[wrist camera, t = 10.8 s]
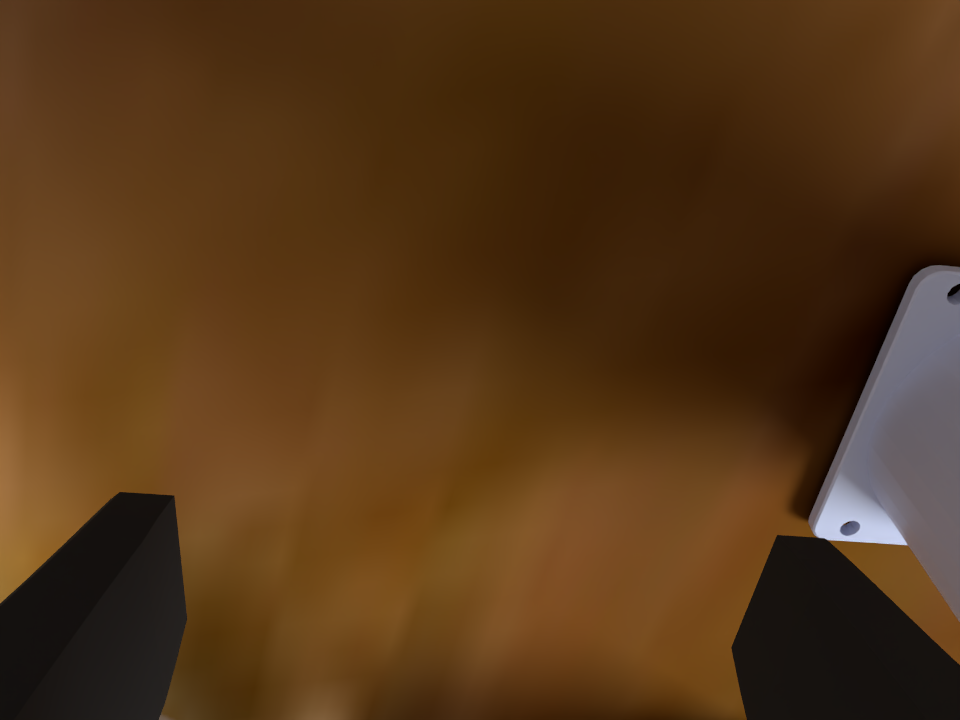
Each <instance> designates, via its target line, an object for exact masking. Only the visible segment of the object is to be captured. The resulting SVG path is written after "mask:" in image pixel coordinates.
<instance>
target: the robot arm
mask: <svg viewBox="0 0 960 720" xmlns="http://www.w3.org/2000/svg"><path fill="white" fill-rule="evenodd" d="M957 284H960V267H954V266H943V265H934V266H929V267H926V268H924V269H922V270H920V271H919V272H918V273H917V274H915V275H914V276H913V278H912V280H911V281H910V283H909V285H908V287H907V289H906V292H905V294H904V296H903V299H902V301H901V303H900V306H899V308H898V310H897V313H896V315H895V317H894V320H893V322H892V324H891V327H890V329H889V331H888V334H887V336H886V338H885V341H884V343H883V345H882V348H881V350H880V352H879V355H878V357H877V359H876V362H875V364H874V366H873V369H872V371H871V373H870V376H869V378H868V381H867V383H866V385H865V388H864V390H863V392H862V395H861V397H860V399H859V402H858V404H857V406H856V409H855V411H854V413H853V416H852V418H851V420H850V423H849V425H848V427H847V430H846V432H845V434H844V437H843V439H842V441H841V444H840V446H839V448H838V451H837V453H836V455H835V458H834V460H833V462H832V465H831V467H830V469H829V472H828V474H827V476H826V479H825V481H824V483H823V486H822V488H821V490H820V493H819V495H818V498H817V500H816V502H815V505H814V507H813V509H812V512H811V514H810V516H809V521H808V523H809V525H810V528H811V530H812V531H813V533H814V535H815V536H817V537H818V538H813V537H798V536H782V535H777V537H776V539H775V542H774V544H773V547H772V549H771V552H770V554H769V556H768V559H767V561H766V564H765V566H764V569H763V571H762V574H761V576H760V579H759V581H758V583H757V586H756V588H755V591H754V593H753V596H752V598H751V601H750V603H749V606H748V608H747V611H746V613H745V615H744V618H743V620H742V623H741V625H740V628H739V630H738V633H737V635H736V638H735V640H734V642H733V645H732V647H731V648H732V653H733V658H734V663H735V667H736V672H737V677H738V682H739V687H740V692H741V696H742V700H743V705H744V709H745V713H746V717H747V720H960V665H959V664H958V663H957V662H956V661H955V660H953V659H952V658H951V657H950V656H949V655H948V654H947V653H946V652H945V651H944V650H943V649H942V648H941V647H940V646H939V645H938V644H937V643H935V642H934V641H933V640H932V639H931V638H930V637H929V636H928V635H927V634H926V633H925V632H924V631H923V630H922V629H921V628H920V627H919V626H918V625H917V624H916V623H915V622H913V621H912V620H911V619H910V618H909V617H908V616H907V615H906V614H905V613H904V612H903V611H902V610H901V609H900V608H899V607H898V606H897V605H896V604H895V603H894V602H893V601H892V600H891V599H890V598H889V597H887V596H886V595H885V594H884V593H883V592H882V591H881V590H880V589H879V588H878V587H877V586H876V585H875V584H874V583H873V582H872V581H871V580H870V579H869V578H868V577H867V576H866V575H865V574H864V573H862V572H861V571H860V570H859V569H858V568H857V567H856V566H855V565H854V564H853V563H852V562H851V561H850V560H849V559H848V558H846V557H845V556H844V555H843V554H842V553H841V552H840V551H839V550H838V549H837V548H835V547H834V546H833V545H832V544H831V543H830V542H829V541H828V540H838V541H853V542H868V543H883V544H899V545H908V546H909V547H910V549H911V550H912V552H913V553H914V555H915V556H916V558H917V559H918V561H919V562H920V564H921V565H922V567H923V568H924V570H925V571H926V573H927V574H928V576H929V577H930V579H931V580H932V581H933V583H934V584H935V586H936V587H937V589H938V590H939V592H940V593H941V595H942V596H943V598H944V599H945V601H946V602H947V604H948V605H949V607H950V608H951V610H952V611H953V613H954V614H955V616H956V617H957V619H958V620H959V622H960V289H959V291H958V292H957V293H955V294H954V295H952V296H948V297H947V295H948V292H949V291H950V290H951V288H952V287H954V286H956V285H957ZM848 521H851V522H850V523H848V524H846V525H843V524H844V523H846V522H848ZM186 621H187V614H186V604H185V595H184V585H183V575H182V566H181V556H180V547H179V537H178V527H177V518H176V508H175V499H174V496H172V495H156V494H141V493H126V492H119V493H118V494H117V495H116V496H114V497H113V498H112V499H110V500H109V501H108V502H107V503H106V504H105V505H104V506H103V507H102V508H101V509H100V510H99V511H98V512H97V513H96V514H95V515H94V516H93V517H92V518H91V519H90V520H89V521H87V522H86V523H85V524H84V525H83V526H82V527H81V528H80V529H79V530H78V531H77V532H76V533H75V534H74V535H73V536H72V537H71V538H70V539H69V540H68V541H67V542H66V543H65V544H64V545H63V546H62V547H61V548H59V549H58V550H57V551H56V552H55V553H54V554H53V555H52V556H51V557H50V558H49V559H48V560H47V561H46V562H45V563H44V564H43V565H42V566H41V567H39V568H38V569H37V570H36V571H35V572H34V573H33V574H32V575H31V576H30V577H29V578H28V579H27V580H26V581H25V582H24V583H22V584H21V585H20V586H19V587H18V588H17V589H16V590H15V591H14V592H13V593H11V594H10V595H9V596H8V597H7V598H6V599H5V600H4V601H3V602H2V603H0V720H159V717H160V715H161V712H162V709H163V707H164V704H165V700H166V697H167V693H168V690H169V686H170V682H171V679H172V675H173V671H174V668H175V664H176V660H177V656H178V652H179V648H180V644H181V640H182V636H183V632H184V629H185V625H186Z"/></svg>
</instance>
